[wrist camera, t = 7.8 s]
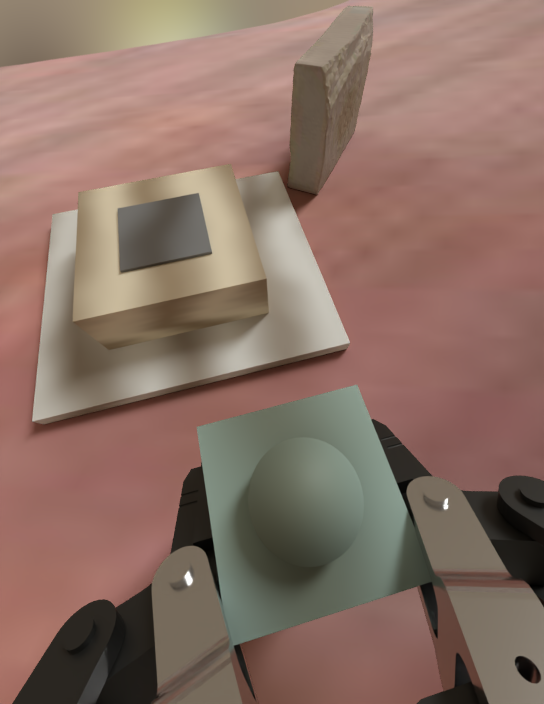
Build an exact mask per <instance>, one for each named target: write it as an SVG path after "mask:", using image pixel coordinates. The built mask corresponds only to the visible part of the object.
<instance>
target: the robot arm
mask: <svg viewBox="0 0 544 704" xmlns="http://www.w3.org/2000/svg"><path fill="white" fill-rule="evenodd" d="M371 421H372V423H373V426H374V428H375V431H376V433H377V436H378V438H379V441H380V443H381V445H382V448H383V450H384V453H385V455H386V458H387V460H388V463H389V465H390V468H391V470H392V473H393V475H394V478H395V480H396V483H397V485H398V488H399V490H400V493H401V495H402V498H403V500H404V503H405V505H406V508H407V510H408V513H409V515H410V518H411V520H412V523H413V525H414V528H415V532H416V536H417V539H418V542H419V545H420V548H421V551H422V554H423V557H424V560H425V563H426V566H427V569H428V572H429V575H430V578H431V581H432V582H429V583H426V584H423V585H420V586H417V588H418V592H419V595H420V599H421V602H422V606H423V609H424V612H425V616H426V619H427V623H428V626H429V630H430V633H431V637H432V640H433V644H434V648H435V653H436V658H437V664H438V669H439V674H440V679H441V683H442V687H443V692H440V693H437V694H435V695H432V696H429V697H426V698H423V699H421V700H420V701H419V702H418V703H417V704H544V481H542V480H540V479H536V478H533V477H528V476H510V477H507V478H505V479H503V480H502V481H501V482H500V484H499V490H498V492H488V491H463V490H460V489H459V488H458V487H456V486H455V485H454V484H452V483H451V482H449V481H447V480H444V479H441V478H438V477H433V476H432V475H431V474H430V473H429V472H428V471H427V470H426V469H425V468H424V467H423V465H422V464H421V463H420V462H419V461H418V460H417V459H416V458H415V457H414V456H413V455H412V453H411V452H410V451H409V450H408V449H407V448H406V447H405V446H404V445H402V443H401V442H400V440H399V439H398V438H397V437H395V436H394V434H393V433H392V432H391V431H390V430H389V429H388V427H387V426H386V425H384V424H382V423H380V422H378V421H376V420H374V419H372V420H371ZM181 496H182V497H181V499H180V504H179V506H180V508H179V510H178V515H177V521H176V527H175V532H174V538H173V543H172V549H171V554H170V555H169V556H168V557H167V558H166V559H165V560H164V561H163V562H162V564H161V565H160V566H159V568H158V570H157V572H156V574H155V576H154V579H153V582H152V583H151V584H150V585H149V586H148V587H147V588H145V589H144V590H143V591H141V592H140V593H138V594H137V595H135V596H133V597H132V598H130V599H129V600H127V601H126V602H124V603H123V604H121V605H119V606H118V607H116V608H115V606H114V605H113V604H112V603H111V602H110V601H108V600H97V601H93V602H91V603H89V604H87V605H85V606H84V607H82V608H81V609H79V610H78V611H77V612H76V613H75V614H73V615H72V616H71V617H70V618H69V619H68V620H67V621H66V623H65V624H64V625H63V626H62V627H61V629H60V630H59V632H58V633H57V634H56V636H55V638H54V639H53V641H52V642H51V644H50V645H49V647H48V649H47V650H46V652H45V653H44V655H43V656H42V658H41V660H40V661H39V663H38V664H37V666H36V667H35V669H34V671H33V672H32V674H31V675H30V677H29V678H28V680H27V681H26V683H25V685H24V686H23V688H22V689H21V691H20V692H19V694H18V696H17V697H16V699H15V700H14V702H13V703H12V704H259V702H258V698H257V695H256V692H255V688H254V685H253V682H252V678H251V675H250V671H249V668H248V665H247V661H246V658H245V655H244V651H243V648H242V644H238V645H234V646H233V642H232V638H231V635H230V631H229V627H228V624H227V620H226V616H225V613H224V609H223V605H222V599H221V592H220V585H219V578H218V571H217V564H216V557H215V550H214V543H213V536H212V529H211V522H210V515H209V508H208V502H207V495H206V488H205V481H204V474H203V467H202V463H201V467H197V468H194V469H191V470H190V472H189V474H188V475H187V477H186V479H185V480H184V482H183V488H182V493H181Z"/></svg>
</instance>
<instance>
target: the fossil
mask: <svg viewBox="0 0 544 704" xmlns="http://www.w3.org/2000/svg"><path fill="white" fill-rule="evenodd" d="M372 16H373V7H367V6H348V7H346V8H345V9H344V10H343V11H342V12H341V13H340V14H339V16H338V17H337V18H336V19H335V20H334V22H332V24H331V26H330V27H329V28H328V29H327V31H326V32H325V33H324V34H323V35H322V36H321V37H320V38H319V39H318V40H317V42H316V43H315V44H314V45H313V46H312V47H311V48H310V49H309V50H308V51H307V52H306V53H305V54H304V55H303V56H302V57H301V58H300V59H299V60H298V61H297V62H296V64H295V66H294V77H293V93H292V107H291V128H290V152H291V162H290V169H289V176H288V184H287V185H288V187H290V188H293V189H297V190H301V191H305V192H309V193H312V194H318V193H319V191H320V189H321V188H322V187H323V185H324V183H325V182H326V180H327V178H328V177H329V174H330V173H331V172H332V170H333V168H334V166H335V165H336V163H337V161H338V159H339V158H340V156H341V154H342V152H343V150H344V149H345V148H346V145H347V144H348V142H349V140H350V138H351V137H352V135H353V133H354V131H355V128H356V123H357V117H358V112H359V107H360V104H361V100H362V95H363V90H364V85H365V80H366V76H367V72H368V65H369V60H370V56H371V47H372V38H373V19H372Z"/></svg>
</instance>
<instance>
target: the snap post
mask: <svg viewBox="0 0 544 704" xmlns="http://www.w3.org/2000/svg"><path fill="white" fill-rule="evenodd" d="M197 432H198V439H199V446H200V453H201V460H202V467H203V474H204V481H205V488H206V495H207V502H208V508H209V515H210V522H211V529H212V536H213V543H214V550H215V557H216V564H217V571H218V578H219V585H220V592H221V599H222V605H223V609H224V613H225V616H226V620H227V624H228V627H229V631H230V635H231V638H232V642H233V646H234V645H238V644H241V643H244V642H247V641H250V640H253V639H256V638H259V637H262V636H265V635H268V634H272V633H275V632H278V631H281V630H284V629H287V628H290V627H293V626H296V625H299V624H302V623H305V622H309V621H312V620H315V619H318V618H321V617H324V616H327V615H330V614H333V613H336V612H339V611H343V610H346V609H349V608H352V607H355V606H358V605H361V604H364V603H367V602H370V601H373V600H377V599H380V598H383V597H386V596H389V595H392V594H395V593H398V592H401V591H404V590H407V589H411V588H414V587H417V586H420V585H423V584H426V583H429V582H432V581H431V578H430V575H429V572H428V569H427V566H426V563H425V560H424V557H423V554H422V551H421V548H420V545H419V542H418V539H417V536H416V532H415V528H414V525H413V523H412V520H411V518H410V515H409V513H408V510H407V508H406V505H405V503H404V500H403V498H402V495H401V493H400V490H399V488H398V485H397V483H396V480H395V478H394V475H393V473H392V470H391V468H390V465H389V463H388V460H387V458H386V455H385V453H384V450H383V448H382V445H381V443H380V441H379V438H378V436H377V433H376V431H375V428H374V426H373V423H372V421H371V418H370V416H369V413H368V411H367V408H366V406H365V403H364V401H363V398H362V396H361V393H360V391H359V388H358V386H357V385H354V386H350V387H346V388H342V389H339V390H335V391H331V392H327V393H324V394H320V395H316V396H312V397H308V398H305V399H301V400H297V401H293V402H290V403H286V404H282V405H278V406H274V407H271V408H267V409H263V410H259V411H255V412H252V413H248V414H244V415H240V416H237V417H233V418H229V419H225V420H221V421H218V422H214V423H210V424H206V425H202V426H199V427H197Z"/></svg>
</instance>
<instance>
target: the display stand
mask: <svg viewBox="0 0 544 704" xmlns="http://www.w3.org/2000/svg"><path fill="white" fill-rule="evenodd" d="M349 344H350V341H349V339H348V337H347V334H346V332H345V330H344V327H343V325H342V322H341V320H340V318H339V315H338V313H337V310H336V308H335V306H334V303H333V301H332V299H331V296H330V294H329V291H328V289H327V287H326V284H325V282H324V279H323V277H322V275H321V272H320V270H319V268H318V265H317V263H316V260H315V258H314V256H313V253H312V251H311V248H310V246H309V244H308V241H307V239H306V237H305V234H304V232H303V229H302V227H301V225H300V222H299V220H298V217H297V215H296V213H295V210H294V208H293V206H292V203H291V201H290V198H289V196H288V194H287V191H286V189H285V186H284V184H283V182H282V179H281V177H280V175H279V172H278V171H277V172H272V173H267V174H261V175H256V176H251V177H246V178H240V179H235V176H234V173H233V169H232V166H231V164H228V165H223V166H217V167H212V168H206V169H201V170H196V171H190V172H185V173H180V174H174V175H169V176H164V177H158V178H153V179H147V180H142V181H137V182H131V183H126V184H121V185H115V186H110V187H104V188H99V189H94V190H88V191H83V192H79V193H78V210H73V211H68V212H62V213H57V214H53V216H52V226H51V236H50V246H49V256H48V266H47V276H46V286H45V297H44V307H43V317H42V327H41V337H40V347H39V357H38V367H37V377H36V387H35V397H34V407H33V417H32V422H36V423H40V424H47V423H51V422H55V421H59V420H63V419H67V418H72V417H76V416H80V415H84V414H88V413H92V412H96V411H100V410H104V409H108V408H112V407H116V406H120V405H124V404H128V403H132V402H136V401H140V400H144V399H148V398H152V397H156V396H160V395H164V394H168V393H172V392H176V391H180V390H184V389H188V388H192V387H196V386H200V385H204V384H208V383H212V382H216V381H220V380H224V379H228V378H232V377H236V376H240V375H244V374H248V373H252V372H256V371H260V370H264V369H268V368H272V367H276V366H280V365H284V364H288V363H292V362H296V361H300V360H304V359H308V358H312V357H316V356H320V355H324V354H328V353H332V352H336V351H340V350H344V349H347V348H348V346H349Z"/></svg>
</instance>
